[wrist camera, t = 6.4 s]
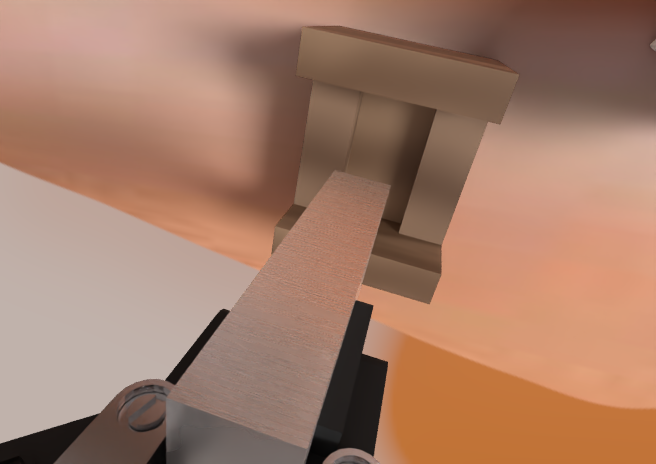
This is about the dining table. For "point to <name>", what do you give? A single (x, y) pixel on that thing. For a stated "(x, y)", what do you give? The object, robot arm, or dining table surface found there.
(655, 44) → the supplement box
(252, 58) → the dining table surface
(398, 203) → the wooden spool frame
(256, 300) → the grey slab
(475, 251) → the dining table surface
